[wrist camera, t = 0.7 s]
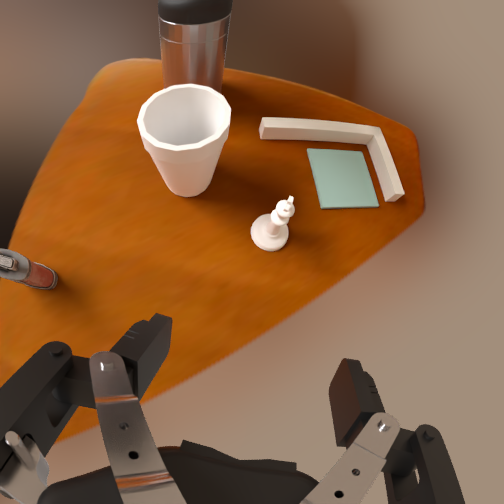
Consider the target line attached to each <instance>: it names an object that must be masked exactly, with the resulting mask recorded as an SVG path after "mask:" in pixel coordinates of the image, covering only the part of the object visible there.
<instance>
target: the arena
mask: <svg viewBox="0 0 504 504" xmlns="http://www.w3.org/2000/svg"><path fill="white" fill-rule="evenodd" d="M259 133H260V138H261V139H283V140H312V141H329V142H343V143H354V144H364V145H367V147H368V150H369V153H370V156H371V159H372V161H373V164H374V167H375V170H376V173H377V176H378V179H379V182H380V185H381V189H382V192H383V195H384V199H385V201H396V200H397V199H398V198H400V197H401V196H403V195H404V190H403V187H402V184H401V181H400V179H399V176H398V173H397V170H396V167H395V164H394V162H393V159H392V156H391V154H390V151H389V149H388V146H387V144H386V141H385V139H384V136H383V134H382V132H381V129H380V127H374V126H367V125H360V124H352V123H344V122H335V121H324V120H312V119H297V118H275V117H262V120H261V124H260V127H259ZM307 153H308V157H309V161H310V165H311V169H312V173H313V177H314V181H315V185H316V189H317V193H318V198H319V202H320V206H321V209H330V208H366V207H378V206H379V204H378V201H377V197H376V194H375V190H374V187H373V184H372V181H371V178H370V174H369V171H368V168H367V165H366V162H365V159H364V157H363V154H362V152H359V151H346V150H330V149H307Z"/></svg>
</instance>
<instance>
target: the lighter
mask: <svg viewBox="0 0 504 504" xmlns="http://www.w3.org/2000/svg"><path fill="white" fill-rule="evenodd" d="M0 277H3V278H5V279H9V280H12V281H14V282H18V283H22V284H25V285H28V286H30V287H33V288H38V289H48V290H51V289H53V288H54V287H55V286H56V284H57V280H58V277H57V274H56V272H55V271H53V270H52V269H50V268H48V267H46V266H44V265H41V264H38V263H35V262H32V261H30V260H29V259H28V258H26V257H24V256H23V255H21V254H19V253H17V252H14V251H11V250H7V249H0Z"/></svg>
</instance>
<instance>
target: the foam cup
mask: <svg viewBox="0 0 504 504" xmlns="http://www.w3.org/2000/svg"><path fill="white" fill-rule="evenodd" d="M230 115H231V108H230V106H229V104H228V103H227V101H226V99H225V98H224V96H223V95H221V94H220V93H218V92H217V91H215V90H213V89H212V88H210V87H207V86H202V85H196V84H182V85H174V86H170V87H168V88H166V89H163V90H161V91H159V92H157V93H155V94H154V95H152V96H151V97H150V98H149V99H148V100H147V101H146V102H145V103H144V104H143V105H142V107H141V110H140V113H139V116H138V119H137V123H138V126H139V130H140V134H141V137H142V140H143V144H144V147H145V149H146V150H147V151H148V152H149V153H150V155H151V157H152V159H153V161H154V163H155V164H156V166H157V168H158V170H159V172H160V174H161V176H162V177H163V179H164V181H165V183H166V185H167V187H168V188H169V189H170V190H171V191H172V192H173V193H175V194H176V195H179V196H183V197H191V196H197V195H198V194H200V193H201V192H203V191H205V190H206V188H207V187H208V185H209V184H210V181H211V179H212V176H213V173H214V170H215V167H216V164H217V161H218V158H219V156H220V153H221V150H222V147H223V144H224V142H225V141H226V140H227V138H228V132H229V125H230Z"/></svg>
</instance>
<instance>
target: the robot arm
mask: <svg viewBox="0 0 504 504" xmlns="http://www.w3.org/2000/svg"><path fill="white" fill-rule="evenodd" d="M232 2H233V0H159V1H158V14H159V29H160V43H161V57H162V68H163V79H164V89H166V88H168V87H170V86H174V85H182V84H196V85H202V86H207V87H210V88H212V89H213V90H215V91H217V92H218V93H220V94H221V88H222V80H223V71H224V62H225V54H226V46H227V39H228V31H229V23H230V16H231V10H232ZM171 329H172V318H171V317H167V316H164V315H161V314H158V313H156V314H155V315H154V316H153V317H152V318H151V319H150V321H149V322H148V321H145V320H142V321H139V322H137V323H135V324H134V325H133V326H132V327H131V328H130V329H129V331H127V332H126V333H125V335H124V336H123V337H122V338H121V339H120V340H119V341H118V342H117V343H116V344H115V345H114V346H113V347H112V349H111V350H110V351H109V352H108V351H103V352H98V353H96V354H94V355H93V356H92V357H91V358H84V357H79V356H74V355H72V351H71V348H70V347H69V346H68V345H67V344H65V343H63V342H58V341H54V342H49V343H47V344H45V345H44V346H42V347H41V348H40V349H39V350H38V351H37V352H36V353H35V354H34V355H33V356H32V357H31V358H30V359H29V360H28V361H27V362H26V363H25V364H24V365H23V366H22V367H21V368H20V369H19V370H18V371H17V372H16V373H15V374H14V375H13V376H12V377H11V378H10V379H9V380H8V381H7V382H6V383H5V384H4V385H3V386H2V387H1V388H0V493H1V494H2V495H4V496H5V497H7V498H10V499H15V500H16V501H18V502H19V503H21V504H360V502H361V500H363V498H364V497H365V495H366V494H367V492H368V491H369V489H370V488H371V486H372V484H373V483H374V481H375V480H376V478H377V476H378V475H379V473H380V471H381V472H384V478H385V484H386V490H387V497H388V504H465V501H464V498H463V495H462V492H461V489H460V485H459V482H458V480H457V477H456V473H455V470H454V468H453V465H452V462H451V459H450V457H449V454H448V451H447V449H446V446H445V444H444V441H443V439H442V436H441V434H440V432H439V431H438V430H437V429H436V428H435V427H433V426H430V425H426V424H424V425H420V426H419V427H418V428H417V429H416V430H415V432H414V431H410V430H406V429H402V428H400V425H399V423H398V421H397V420H396V419H395V418H394V417H393V416H391V415H389V414H387V413H385V410H384V407H383V404H382V402H381V399H380V396H379V394H378V391H377V388H376V385H375V383H374V380H373V378H372V377H371V376H370V375H369V374H368V373H367V372H364V371H363V369H362V366H361V363H360V361H358V360H353V359H346V358H344V359H343V360H342V361H341V363H340V365H339V367H338V370H337V371H336V373H335V375H334V378H333V380H332V382H331V384H330V387H329V399H330V405H331V411H332V417H333V424H334V430H335V437H336V444H337V446H341V447H346V449H347V451H346V452H345V453H344V454H343V456H342V457H341V458H340V459H339V460H338V462H337V463H336V464H335V465H334V466H333V468H332V469H331V470H330V471H329V472H328V473H327V474H326V476H325V477H324V478H323V479H322V480H321V481H320V482H318V481H317V480H315V479H314V478H312V477H311V476H309V475H307V474H305V473H303V472H300V471H297V470H296V463H294V462H285V461H278V460H271V459H264V460H238V459H235V458H233V457H231V456H228V455H226V454H224V453H221V452H220V451H217V450H215V449H213V448H211V447H207V446H203V445H200V444H196V443H192V442H189V441H186V440H183V441H182V444H181V447H177V446H165V447H158V448H157V447H156V445H155V442H154V440H153V437H152V435H151V432H150V430H149V428H148V425H147V422H146V420H145V417H144V414H143V411H142V409H141V406H140V403H139V401H140V400H141V398H142V396H143V395H144V393H145V391H146V390H147V388H148V386H149V385H150V383H151V381H152V380H153V378H154V376H155V375H156V373H157V372H158V370H159V368H160V367H161V365H162V363H163V362H164V360H165V358H166V357H167V354H168V352H169V348H170V339H171ZM78 406H83V407H88V408H93V409H97V414H98V418H99V423H100V427H101V432H102V435H103V440H104V444H105V447H106V451H107V454H108V458H109V461H110V466H107V467H104V468H102V469H99V470H96V471H93V472H90V473H87V474H84V475H81V476H77V477H74V478H70V479H67V480H64V481H60V482H56V483H54V484H52V485H50V486H49V487H47V477H48V474H49V466H48V463H47V461H46V459H45V456H46V455H47V453H48V452H49V450H50V449H51V447H52V445H53V444H54V442H55V441H56V439H57V438H58V436H59V435H60V433H61V432H62V430H63V429H64V427H65V426H66V424H67V423H68V421H69V420H70V418H71V417H72V415H73V414H74V412H75V411H76V409H77V408H78ZM416 469H418V473H419V478H420V480H419V484H418V482H417V478H416V474H415V470H416Z"/></svg>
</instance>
